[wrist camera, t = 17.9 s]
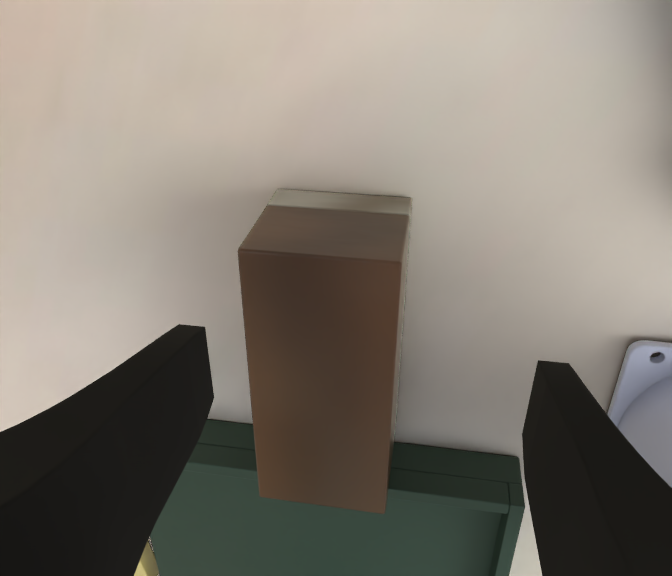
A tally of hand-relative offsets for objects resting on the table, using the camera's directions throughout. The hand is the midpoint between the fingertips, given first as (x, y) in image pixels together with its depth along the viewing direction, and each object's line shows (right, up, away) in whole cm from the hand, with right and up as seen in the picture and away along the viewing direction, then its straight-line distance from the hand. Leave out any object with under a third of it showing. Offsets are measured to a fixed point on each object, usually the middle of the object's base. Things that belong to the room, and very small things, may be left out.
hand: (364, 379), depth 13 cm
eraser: (0, +1, +12) cm, 12 cm away
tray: (-1, -12, +20) cm, 23 cm away
